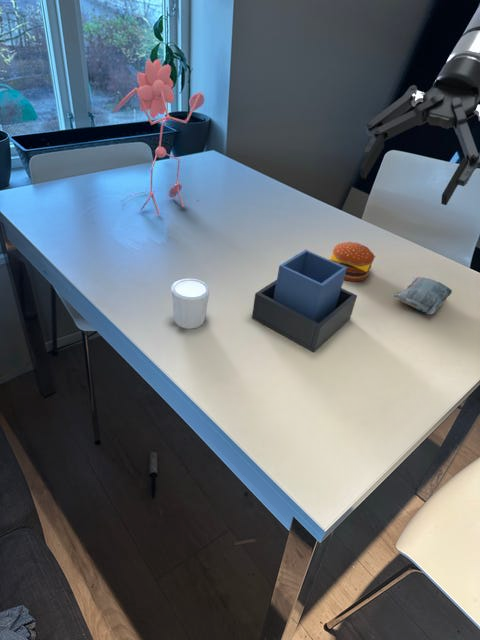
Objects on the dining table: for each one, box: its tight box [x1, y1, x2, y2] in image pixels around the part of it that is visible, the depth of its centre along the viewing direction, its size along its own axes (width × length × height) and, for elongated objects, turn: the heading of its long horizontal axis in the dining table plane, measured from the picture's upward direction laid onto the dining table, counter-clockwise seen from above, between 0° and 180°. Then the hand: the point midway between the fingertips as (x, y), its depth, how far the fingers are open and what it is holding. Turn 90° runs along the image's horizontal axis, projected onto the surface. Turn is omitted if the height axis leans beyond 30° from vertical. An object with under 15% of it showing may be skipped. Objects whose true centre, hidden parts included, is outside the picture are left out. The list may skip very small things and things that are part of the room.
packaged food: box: [393, 276, 453, 316], centre depth 95 cm, size 9×12×5 cm
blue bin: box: [273, 249, 347, 323], centre depth 84 cm, size 9×9×11 cm
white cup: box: [170, 278, 211, 330], centre depth 82 cm, size 7×7×7 cm
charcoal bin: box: [251, 279, 358, 353], centre depth 86 cm, size 14×14×6 cm
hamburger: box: [328, 241, 377, 282], centre depth 102 cm, size 9×10×7 cm
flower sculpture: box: [111, 58, 205, 217], centre depth 113 cm, size 15×26×35 cm, turn 142°
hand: (401, 186), depth 70 cm, fingers open, 13 cm apart
